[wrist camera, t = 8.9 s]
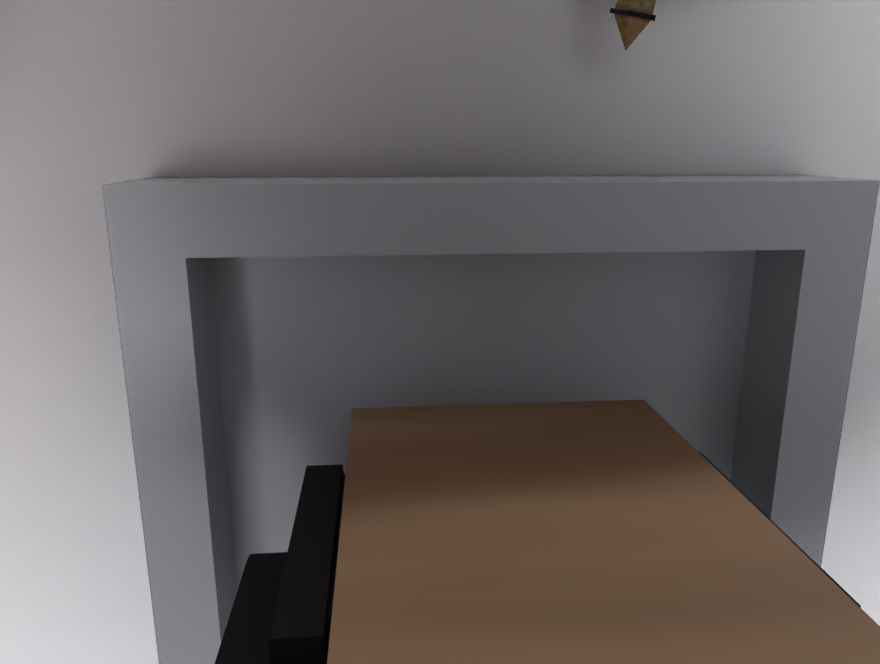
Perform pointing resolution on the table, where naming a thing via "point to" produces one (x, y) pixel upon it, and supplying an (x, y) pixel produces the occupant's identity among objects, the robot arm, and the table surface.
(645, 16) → the game die
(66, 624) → the table surface
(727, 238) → the tray
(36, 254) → the table surface
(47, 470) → the table surface
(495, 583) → the walnut block
